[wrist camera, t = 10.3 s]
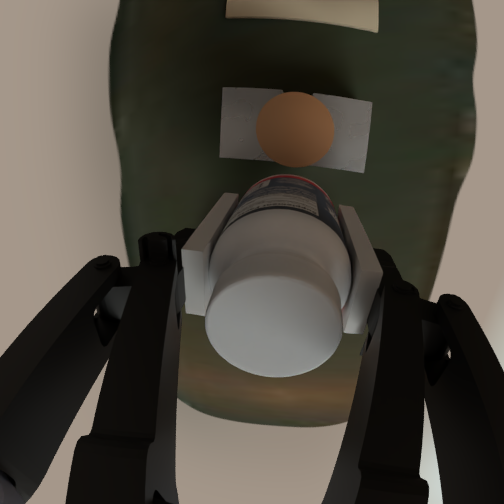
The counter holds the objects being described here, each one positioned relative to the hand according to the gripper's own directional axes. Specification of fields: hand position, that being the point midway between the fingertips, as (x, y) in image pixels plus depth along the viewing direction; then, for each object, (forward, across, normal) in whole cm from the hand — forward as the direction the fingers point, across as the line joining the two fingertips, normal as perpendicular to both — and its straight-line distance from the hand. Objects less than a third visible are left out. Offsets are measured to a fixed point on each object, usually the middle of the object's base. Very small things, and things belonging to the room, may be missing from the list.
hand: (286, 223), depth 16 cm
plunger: (+4, 0, +5) cm, 7 cm away
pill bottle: (+1, 0, 0) cm, 1 cm away
